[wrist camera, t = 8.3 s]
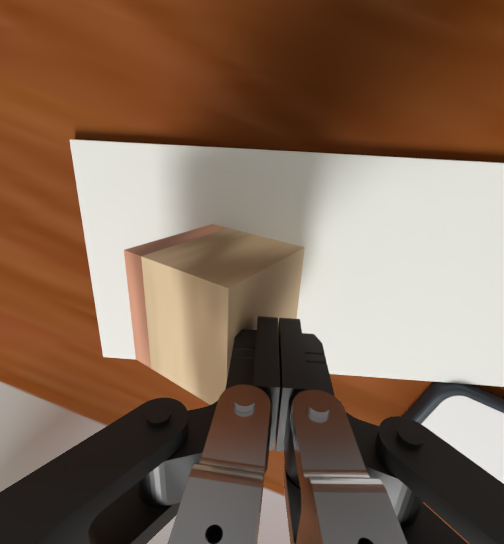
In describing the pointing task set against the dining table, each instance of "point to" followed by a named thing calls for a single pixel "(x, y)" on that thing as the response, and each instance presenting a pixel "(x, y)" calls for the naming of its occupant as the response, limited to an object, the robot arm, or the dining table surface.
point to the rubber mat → (321, 245)
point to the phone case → (465, 422)
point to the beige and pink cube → (206, 300)
